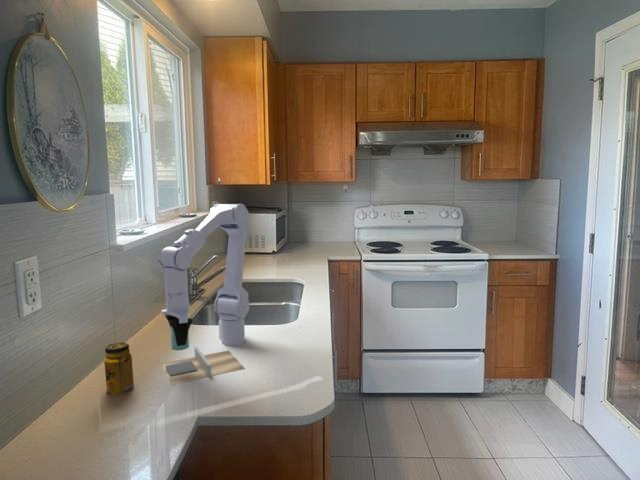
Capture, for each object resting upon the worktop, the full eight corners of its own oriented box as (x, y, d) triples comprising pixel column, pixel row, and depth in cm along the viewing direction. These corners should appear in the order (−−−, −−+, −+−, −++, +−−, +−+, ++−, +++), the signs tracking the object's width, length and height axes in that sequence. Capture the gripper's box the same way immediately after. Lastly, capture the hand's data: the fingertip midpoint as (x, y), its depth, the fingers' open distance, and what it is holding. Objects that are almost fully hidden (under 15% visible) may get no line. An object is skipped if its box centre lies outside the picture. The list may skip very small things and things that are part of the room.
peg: (170, 345, 119) (169, 324, 119) (187, 343, 121) (186, 322, 120) (173, 351, 115) (172, 329, 115) (190, 348, 117) (189, 326, 117)
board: (161, 366, 123) (161, 363, 123) (228, 353, 132) (228, 350, 132) (171, 388, 110) (171, 384, 110) (245, 372, 119) (245, 368, 119)
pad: (165, 366, 120) (165, 365, 120) (191, 361, 124) (191, 360, 124) (170, 376, 114) (169, 375, 114) (197, 370, 118) (197, 369, 118)
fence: (194, 356, 127) (194, 346, 127) (197, 356, 127) (197, 346, 127) (208, 376, 114) (207, 365, 114) (211, 376, 114) (210, 364, 114)
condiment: (98, 396, 107) (94, 348, 105) (127, 381, 114) (123, 336, 113) (120, 402, 104) (117, 352, 102) (148, 386, 111) (145, 340, 110)
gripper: (156, 288, 121) (159, 336, 122) (165, 300, 108) (168, 354, 110) (183, 285, 124) (185, 332, 126) (195, 296, 111) (197, 348, 113)
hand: (179, 342), depth 118 cm, fingers closed on peg, 4 cm apart
